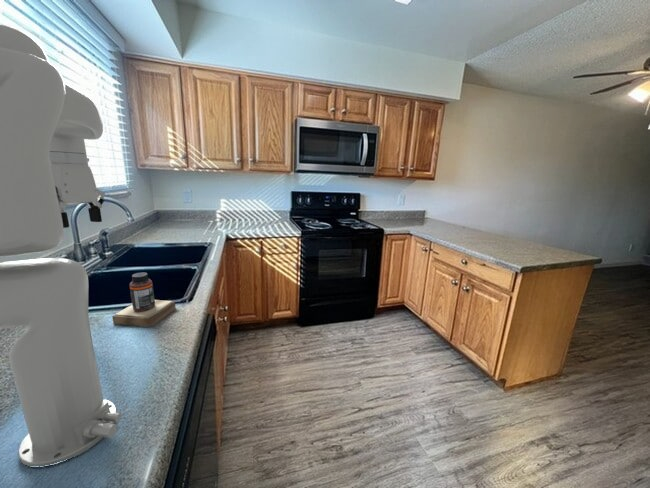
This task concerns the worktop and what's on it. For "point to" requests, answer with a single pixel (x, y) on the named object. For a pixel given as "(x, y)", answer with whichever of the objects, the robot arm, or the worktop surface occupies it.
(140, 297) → the supplement bottle
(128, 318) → the light wooden flat block
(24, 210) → the robot arm
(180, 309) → the worktop surface
